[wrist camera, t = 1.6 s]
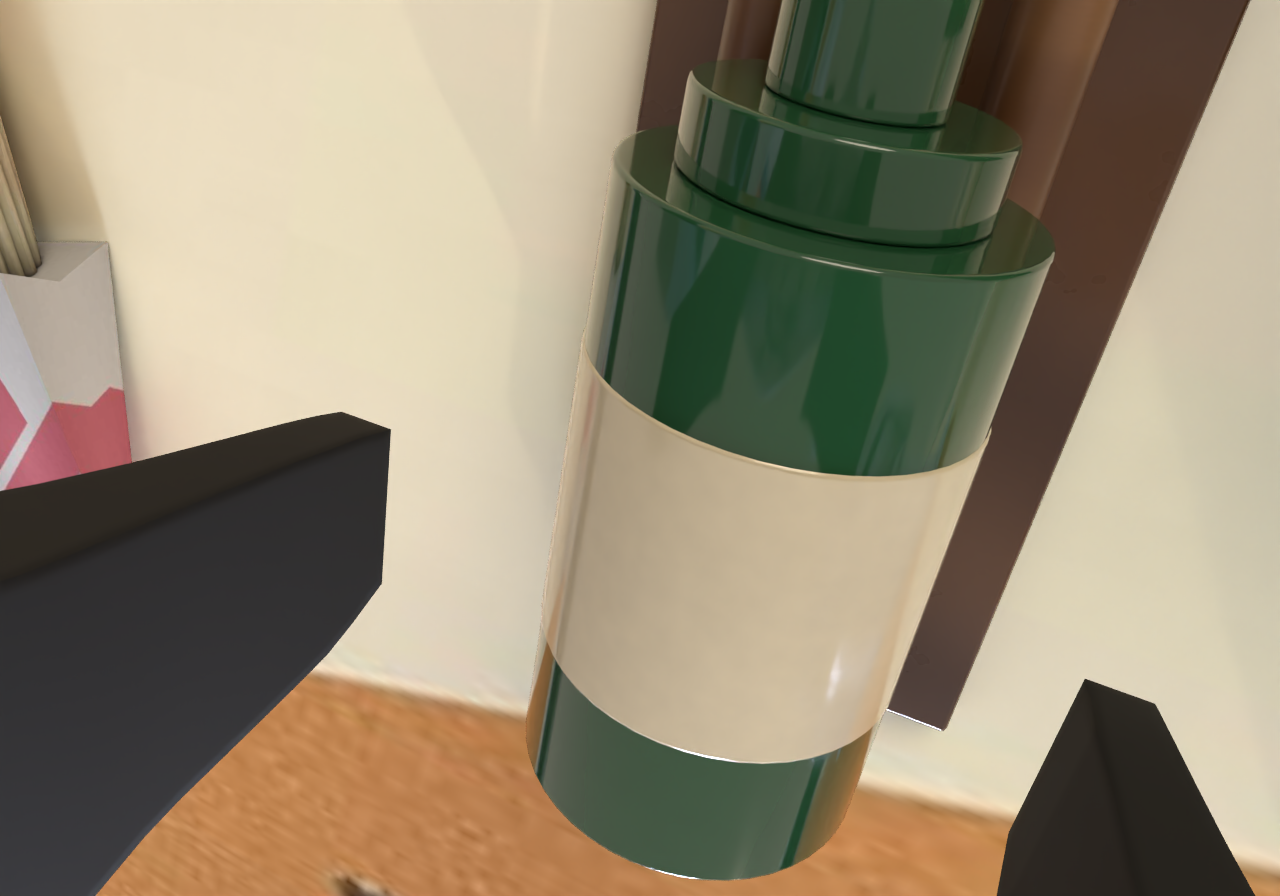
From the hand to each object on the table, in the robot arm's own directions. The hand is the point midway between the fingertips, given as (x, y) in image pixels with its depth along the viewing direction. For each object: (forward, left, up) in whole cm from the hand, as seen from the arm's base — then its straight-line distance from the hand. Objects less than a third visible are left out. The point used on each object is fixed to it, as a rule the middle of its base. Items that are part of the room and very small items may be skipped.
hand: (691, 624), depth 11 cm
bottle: (+1, 0, -7) cm, 7 cm away
